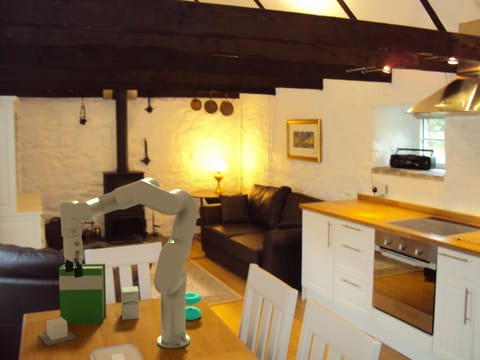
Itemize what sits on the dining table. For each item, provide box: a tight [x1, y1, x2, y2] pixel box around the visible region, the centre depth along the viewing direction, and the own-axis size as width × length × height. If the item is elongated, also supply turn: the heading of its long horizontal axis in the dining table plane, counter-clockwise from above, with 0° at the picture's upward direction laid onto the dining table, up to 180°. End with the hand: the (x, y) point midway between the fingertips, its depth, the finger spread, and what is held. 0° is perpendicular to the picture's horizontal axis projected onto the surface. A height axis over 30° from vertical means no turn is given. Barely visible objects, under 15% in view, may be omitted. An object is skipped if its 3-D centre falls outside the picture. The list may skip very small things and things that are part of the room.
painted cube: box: [46, 316, 68, 340], centre depth 199 cm, size 6×6×6 cm
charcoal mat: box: [38, 328, 77, 347], centre depth 199 cm, size 11×11×1 cm
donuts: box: [185, 291, 202, 321], centre depth 222 cm, size 10×10×10 cm
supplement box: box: [120, 285, 140, 321], centre depth 221 cm, size 7×7×13 cm
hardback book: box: [58, 263, 107, 325], centre depth 216 cm, size 18×7×24 cm, turn 94°
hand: (74, 274), depth 199 cm, fingers open, 9 cm apart
